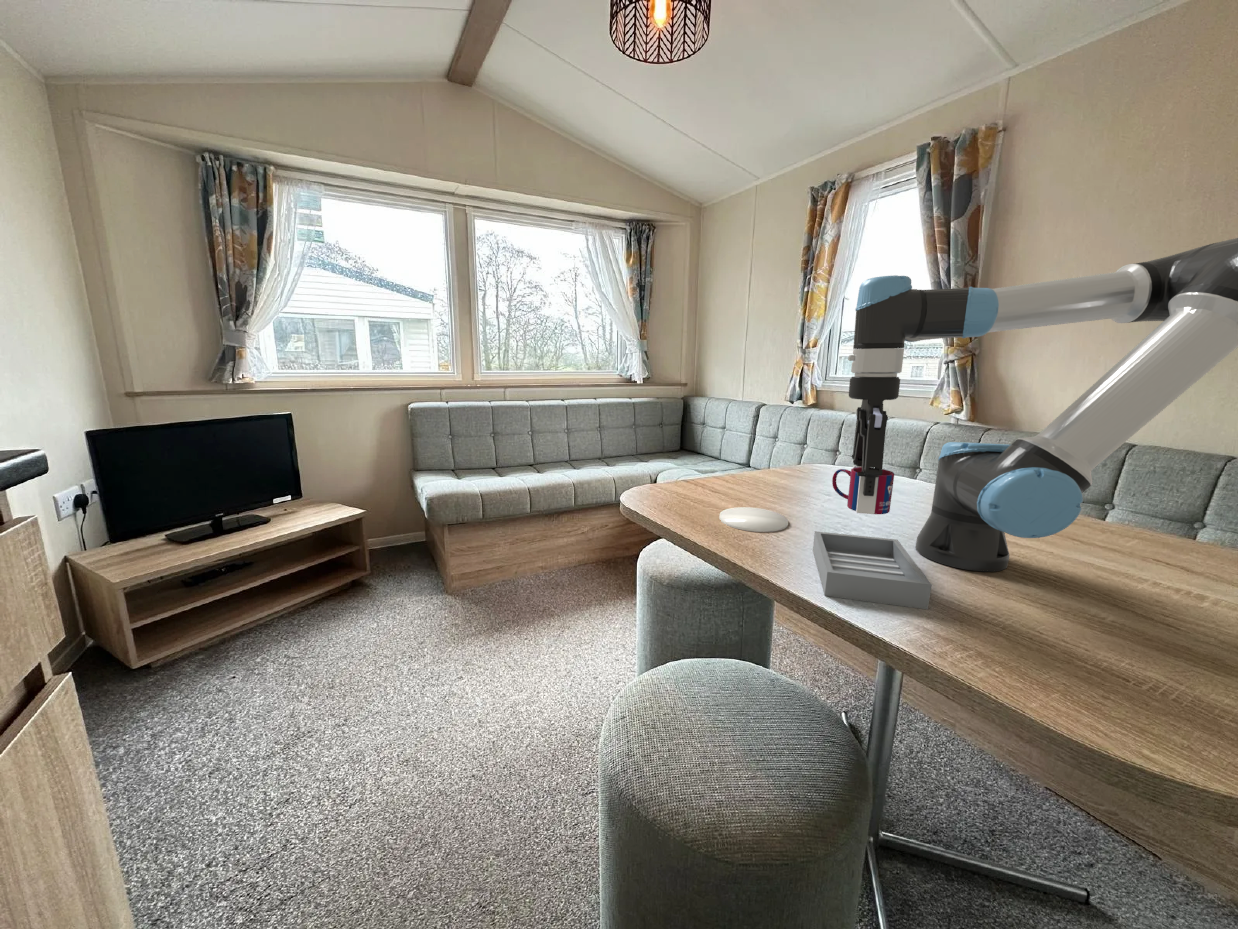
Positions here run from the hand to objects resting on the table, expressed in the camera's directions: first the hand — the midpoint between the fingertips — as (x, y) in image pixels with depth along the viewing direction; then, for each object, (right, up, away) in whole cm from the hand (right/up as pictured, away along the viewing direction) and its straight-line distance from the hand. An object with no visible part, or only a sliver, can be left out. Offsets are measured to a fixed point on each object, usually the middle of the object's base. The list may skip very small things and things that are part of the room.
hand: (861, 506), depth 86 cm
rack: (+1, -13, +1) cm, 13 cm away
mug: (0, 0, +1) cm, 1 cm away
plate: (-11, -6, +31) cm, 33 cm away
